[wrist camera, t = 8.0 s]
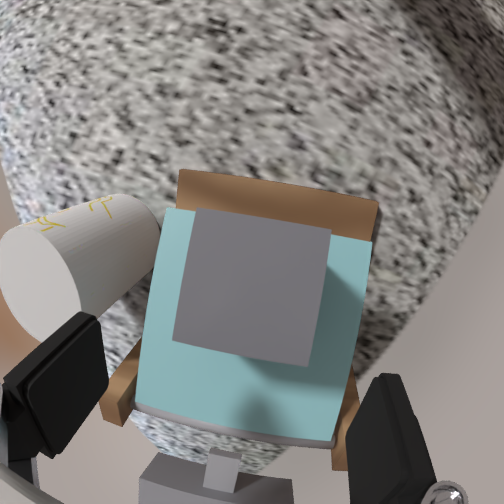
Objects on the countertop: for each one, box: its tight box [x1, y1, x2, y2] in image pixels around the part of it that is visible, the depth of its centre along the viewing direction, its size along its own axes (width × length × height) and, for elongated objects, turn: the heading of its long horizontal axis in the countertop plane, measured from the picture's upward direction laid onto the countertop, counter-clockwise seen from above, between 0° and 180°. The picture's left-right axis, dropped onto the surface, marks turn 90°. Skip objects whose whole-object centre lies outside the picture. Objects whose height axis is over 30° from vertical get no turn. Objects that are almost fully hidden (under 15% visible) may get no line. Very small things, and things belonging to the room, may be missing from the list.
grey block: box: [172, 207, 332, 367], centre depth 14 cm, size 5×5×6 cm
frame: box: [99, 169, 379, 471], centre depth 20 cm, size 16×16×14 cm
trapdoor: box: [130, 207, 372, 504], centre depth 17 cm, size 21×13×4 cm, turn 174°
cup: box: [0, 194, 161, 342], centre depth 21 cm, size 8×8×12 cm
